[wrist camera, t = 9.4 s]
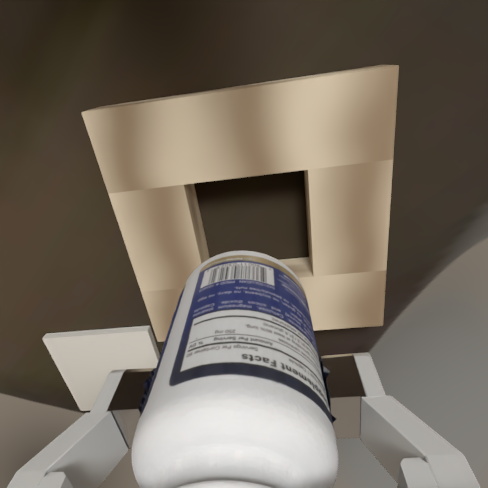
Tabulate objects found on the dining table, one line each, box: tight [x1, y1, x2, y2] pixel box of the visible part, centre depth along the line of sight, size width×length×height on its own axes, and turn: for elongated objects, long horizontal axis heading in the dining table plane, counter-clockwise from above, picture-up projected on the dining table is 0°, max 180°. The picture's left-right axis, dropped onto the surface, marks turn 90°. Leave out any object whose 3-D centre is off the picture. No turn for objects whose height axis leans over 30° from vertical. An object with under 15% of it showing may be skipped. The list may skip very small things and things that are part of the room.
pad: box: [42, 326, 160, 411], centre depth 30 cm, size 9×9×1 cm
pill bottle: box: [132, 251, 338, 488], centre depth 11 cm, size 5×5×10 cm
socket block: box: [81, 65, 399, 342], centre depth 22 cm, size 16×16×2 cm
